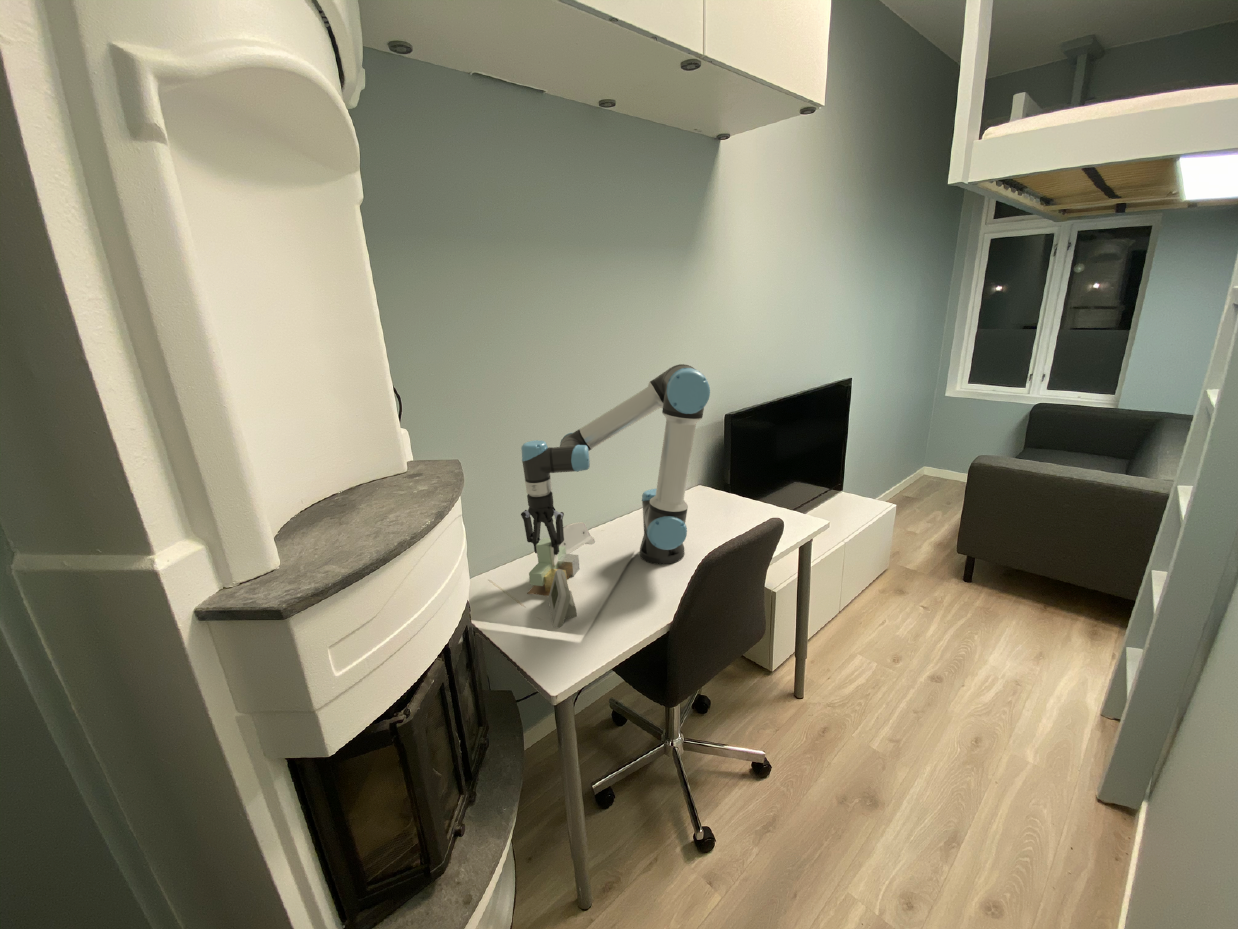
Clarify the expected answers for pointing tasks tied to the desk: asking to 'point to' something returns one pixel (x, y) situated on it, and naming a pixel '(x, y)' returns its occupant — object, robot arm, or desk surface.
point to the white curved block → (576, 536)
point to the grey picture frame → (561, 600)
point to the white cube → (569, 564)
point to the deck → (540, 590)
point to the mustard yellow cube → (550, 579)
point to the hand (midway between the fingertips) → (548, 562)
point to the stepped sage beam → (544, 562)
